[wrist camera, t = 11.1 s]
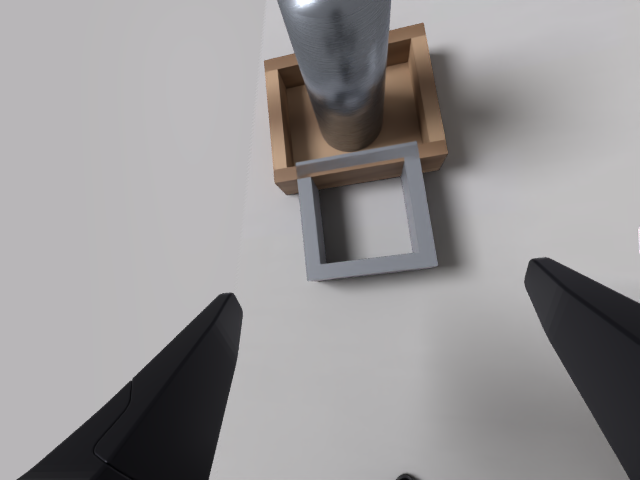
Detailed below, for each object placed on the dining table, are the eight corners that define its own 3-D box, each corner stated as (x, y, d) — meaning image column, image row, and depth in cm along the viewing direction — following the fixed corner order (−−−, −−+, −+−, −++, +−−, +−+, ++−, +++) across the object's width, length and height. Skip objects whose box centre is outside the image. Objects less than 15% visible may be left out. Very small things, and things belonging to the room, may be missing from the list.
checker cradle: (429, 268, 22) (438, 265, 19) (315, 281, 23) (307, 280, 21) (411, 158, 24) (416, 140, 21) (304, 176, 25) (295, 162, 22)
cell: (352, 164, 24) (331, 22, 11) (307, 127, 25) (239, -41, 12) (396, 116, 24) (425, -80, 11) (348, 81, 25) (324, -135, 12)
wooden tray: (438, 170, 23) (448, 153, 20) (286, 194, 25) (274, 183, 22) (417, 53, 25) (423, 22, 22) (276, 85, 27) (264, 60, 24)
